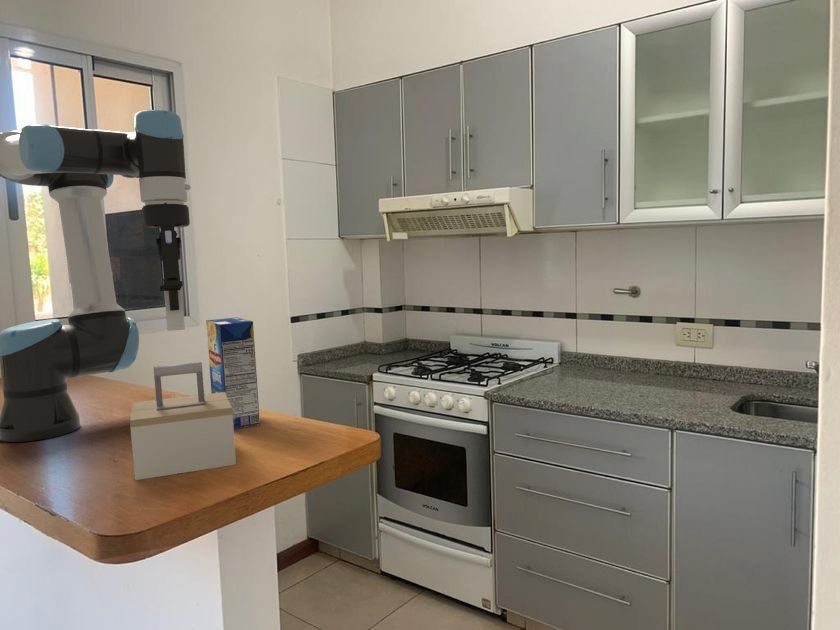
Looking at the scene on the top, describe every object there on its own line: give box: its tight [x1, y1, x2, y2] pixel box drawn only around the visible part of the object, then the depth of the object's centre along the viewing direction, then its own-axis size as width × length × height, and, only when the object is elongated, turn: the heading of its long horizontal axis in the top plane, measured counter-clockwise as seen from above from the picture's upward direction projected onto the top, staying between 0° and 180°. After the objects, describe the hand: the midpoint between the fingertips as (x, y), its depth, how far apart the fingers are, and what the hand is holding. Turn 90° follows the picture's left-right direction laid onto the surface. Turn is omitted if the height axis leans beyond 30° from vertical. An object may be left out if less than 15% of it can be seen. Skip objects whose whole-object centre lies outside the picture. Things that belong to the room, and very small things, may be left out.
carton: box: [129, 400, 237, 481], centre depth 114 cm, size 14×16×10 cm
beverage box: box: [205, 316, 261, 430], centre depth 138 cm, size 7×11×22 cm, turn 33°
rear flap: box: [131, 361, 228, 412], centre depth 117 cm, size 7×16×8 cm, turn 112°
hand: (175, 326), depth 113 cm, fingers open, 13 cm apart
